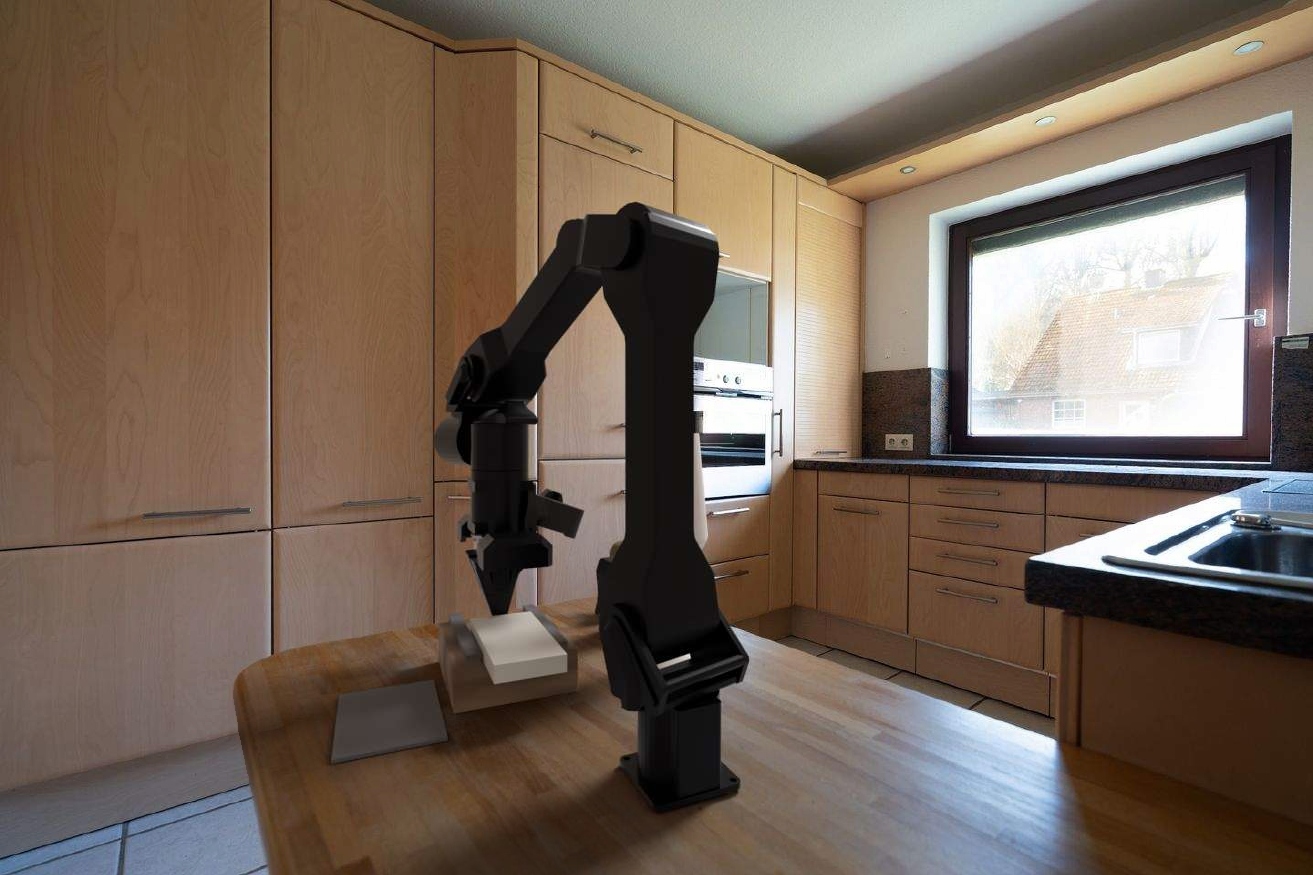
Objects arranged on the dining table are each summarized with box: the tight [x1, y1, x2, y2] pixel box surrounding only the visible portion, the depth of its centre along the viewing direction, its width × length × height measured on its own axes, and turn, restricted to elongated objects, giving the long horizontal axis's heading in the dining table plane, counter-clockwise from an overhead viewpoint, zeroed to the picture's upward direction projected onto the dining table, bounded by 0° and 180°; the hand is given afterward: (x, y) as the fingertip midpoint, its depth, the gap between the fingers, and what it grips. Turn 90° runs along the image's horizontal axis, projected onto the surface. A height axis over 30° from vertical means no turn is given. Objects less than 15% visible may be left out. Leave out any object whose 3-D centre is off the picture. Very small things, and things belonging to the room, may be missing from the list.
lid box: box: [438, 603, 579, 714], centre depth 60 cm, size 13×11×5 cm
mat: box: [330, 679, 449, 765], centre depth 51 cm, size 12×8×1 cm, turn 25°
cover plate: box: [469, 611, 567, 684], centre depth 55 cm, size 13×6×2 cm, turn 25°
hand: (499, 621), depth 62 cm, fingers closed
